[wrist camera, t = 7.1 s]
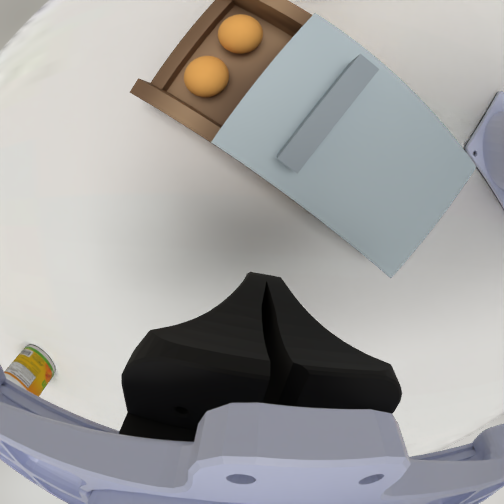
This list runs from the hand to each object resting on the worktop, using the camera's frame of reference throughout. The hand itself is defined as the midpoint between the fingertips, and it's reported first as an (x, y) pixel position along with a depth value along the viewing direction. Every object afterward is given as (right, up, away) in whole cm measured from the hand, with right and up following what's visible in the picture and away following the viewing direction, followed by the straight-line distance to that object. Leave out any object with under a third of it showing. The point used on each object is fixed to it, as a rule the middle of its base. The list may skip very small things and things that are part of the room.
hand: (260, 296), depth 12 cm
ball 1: (-3, +13, +5) cm, 14 cm away
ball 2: (-1, +16, +4) cm, 16 cm away
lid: (+6, +8, +4) cm, 10 cm away
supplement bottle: (-29, -13, +18) cm, 36 cm away
